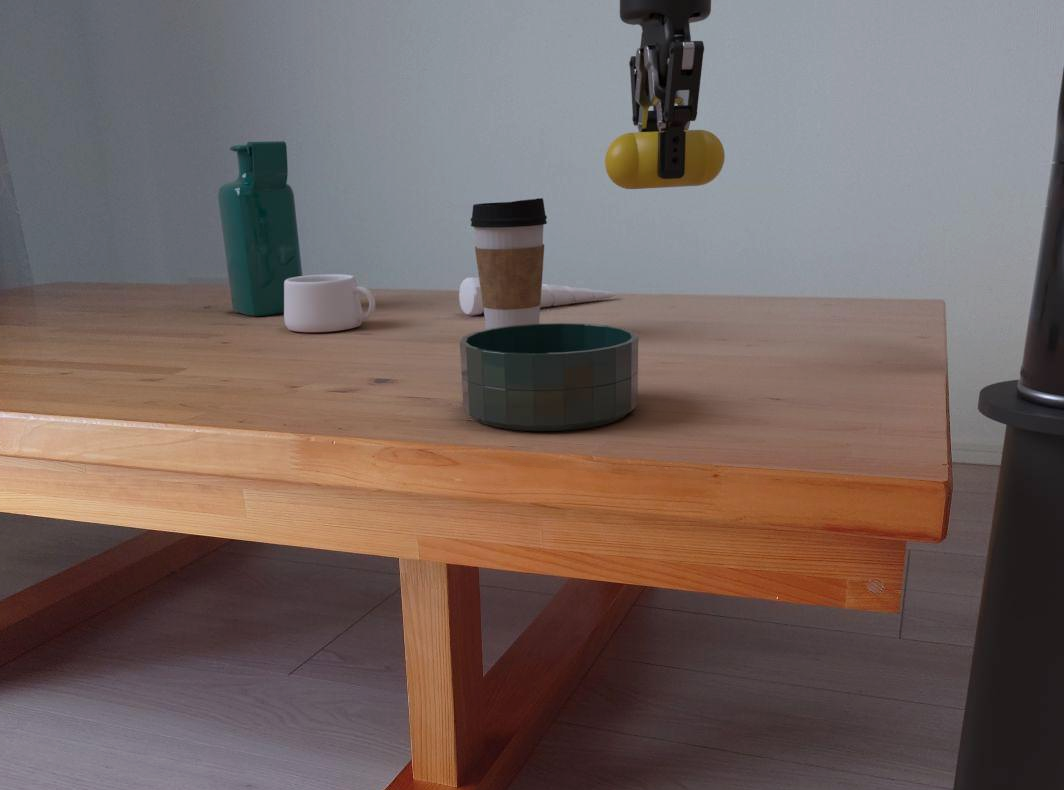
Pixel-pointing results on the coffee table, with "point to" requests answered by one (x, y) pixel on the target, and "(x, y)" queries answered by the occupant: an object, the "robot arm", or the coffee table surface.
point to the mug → (324, 303)
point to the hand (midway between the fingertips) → (662, 177)
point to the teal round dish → (549, 375)
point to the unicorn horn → (549, 296)
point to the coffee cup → (510, 260)
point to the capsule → (638, 160)
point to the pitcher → (260, 229)
